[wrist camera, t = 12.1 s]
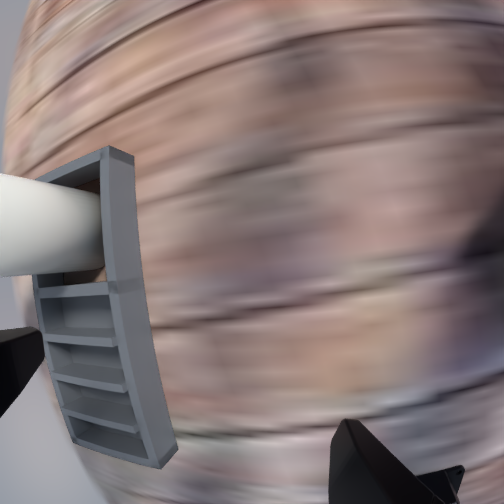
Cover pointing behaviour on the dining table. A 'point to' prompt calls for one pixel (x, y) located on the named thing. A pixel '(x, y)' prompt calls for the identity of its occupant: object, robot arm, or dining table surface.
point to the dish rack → (106, 329)
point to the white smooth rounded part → (48, 228)
